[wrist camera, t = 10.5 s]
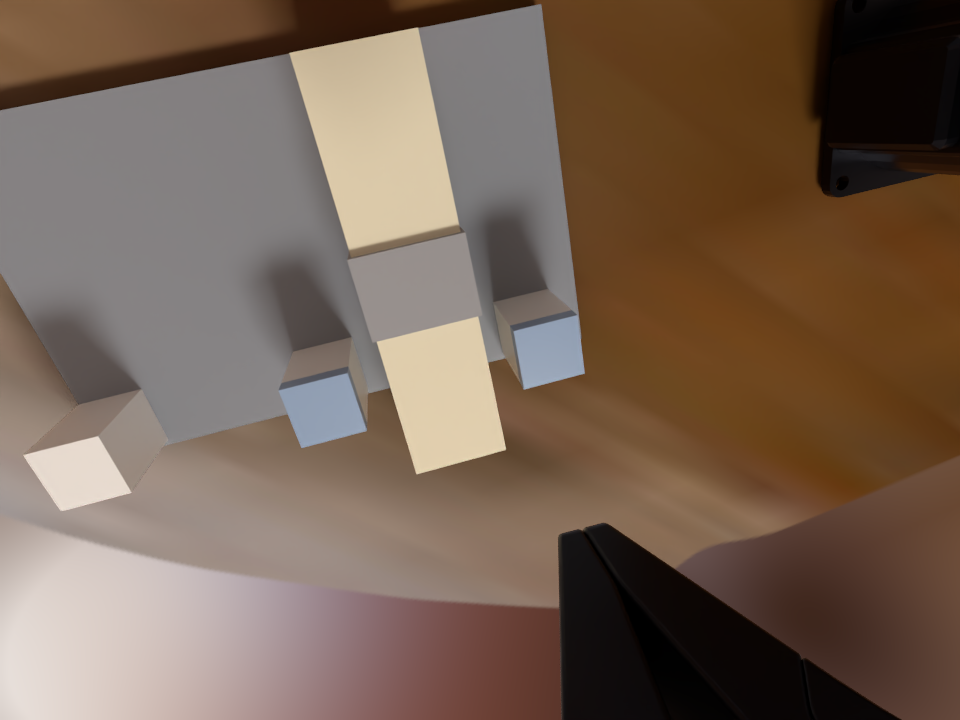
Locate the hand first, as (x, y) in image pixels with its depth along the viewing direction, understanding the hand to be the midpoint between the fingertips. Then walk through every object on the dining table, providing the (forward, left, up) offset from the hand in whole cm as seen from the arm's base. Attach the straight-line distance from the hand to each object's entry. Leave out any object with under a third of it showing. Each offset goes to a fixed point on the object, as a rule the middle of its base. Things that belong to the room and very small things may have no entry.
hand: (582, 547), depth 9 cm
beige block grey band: (+2, -3, -11) cm, 11 cm away
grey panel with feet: (+5, -4, -11) cm, 13 cm away
